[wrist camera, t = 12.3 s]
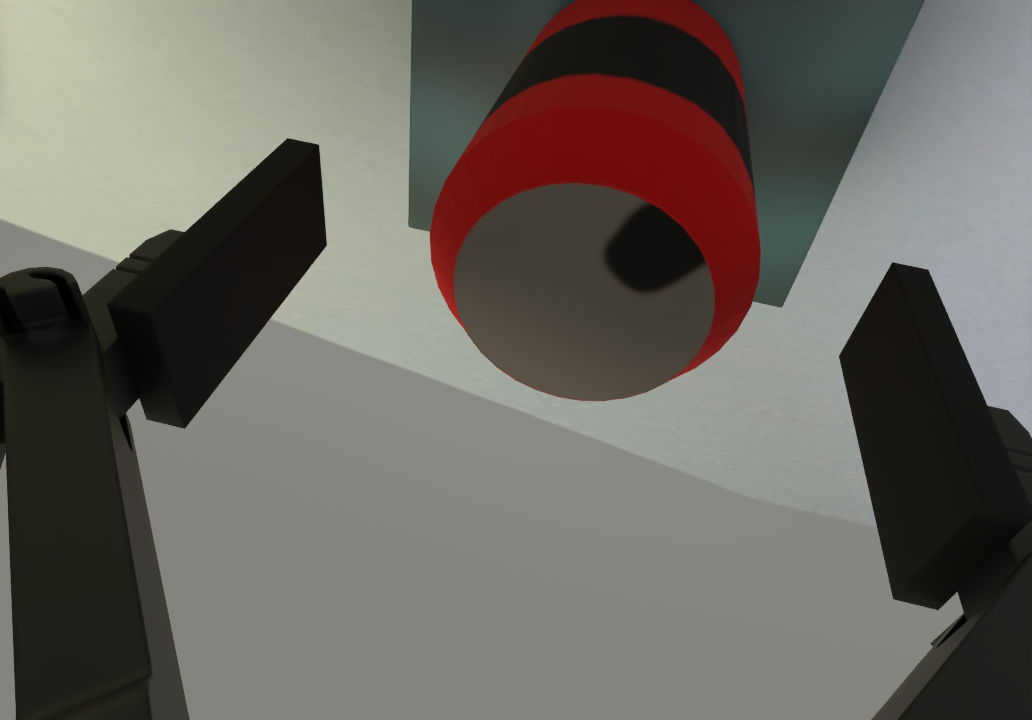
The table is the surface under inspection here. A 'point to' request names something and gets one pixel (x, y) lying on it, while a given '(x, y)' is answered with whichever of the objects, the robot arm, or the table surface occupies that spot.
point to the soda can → (606, 204)
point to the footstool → (767, 87)
